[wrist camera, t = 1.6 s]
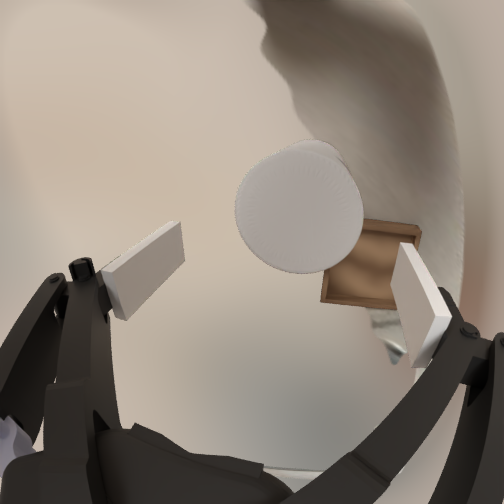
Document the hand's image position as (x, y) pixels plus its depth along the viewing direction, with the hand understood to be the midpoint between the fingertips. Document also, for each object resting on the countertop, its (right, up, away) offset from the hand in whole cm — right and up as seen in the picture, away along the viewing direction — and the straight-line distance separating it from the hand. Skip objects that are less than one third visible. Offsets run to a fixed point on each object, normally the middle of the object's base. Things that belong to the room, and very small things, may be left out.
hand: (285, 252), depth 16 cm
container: (+7, +11, +22) cm, 26 cm away
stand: (+17, -1, +25) cm, 30 cm away
